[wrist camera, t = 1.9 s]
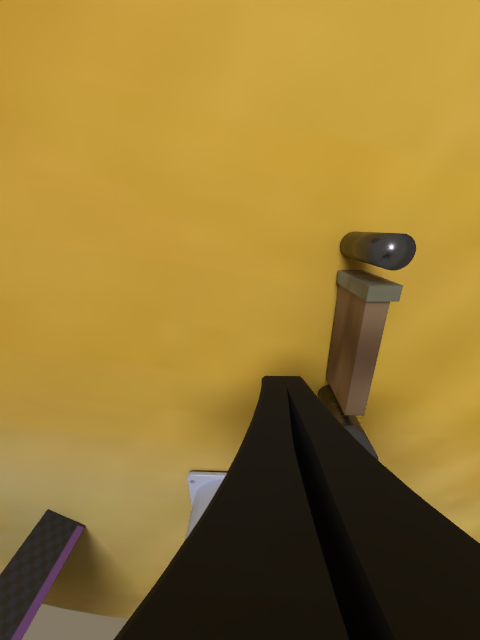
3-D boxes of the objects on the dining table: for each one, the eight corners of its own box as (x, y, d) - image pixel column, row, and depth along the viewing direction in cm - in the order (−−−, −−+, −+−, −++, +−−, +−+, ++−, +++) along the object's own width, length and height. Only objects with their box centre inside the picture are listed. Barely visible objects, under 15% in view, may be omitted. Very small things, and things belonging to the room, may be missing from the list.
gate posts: (340, 404, 20) (374, 473, 14) (316, 403, 20) (341, 472, 14) (370, 231, 15) (442, 233, 9) (338, 231, 15) (390, 234, 9)
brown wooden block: (344, 377, 19) (370, 420, 14) (323, 377, 19) (343, 419, 15) (362, 270, 15) (402, 285, 11) (337, 270, 16) (369, 286, 11)
